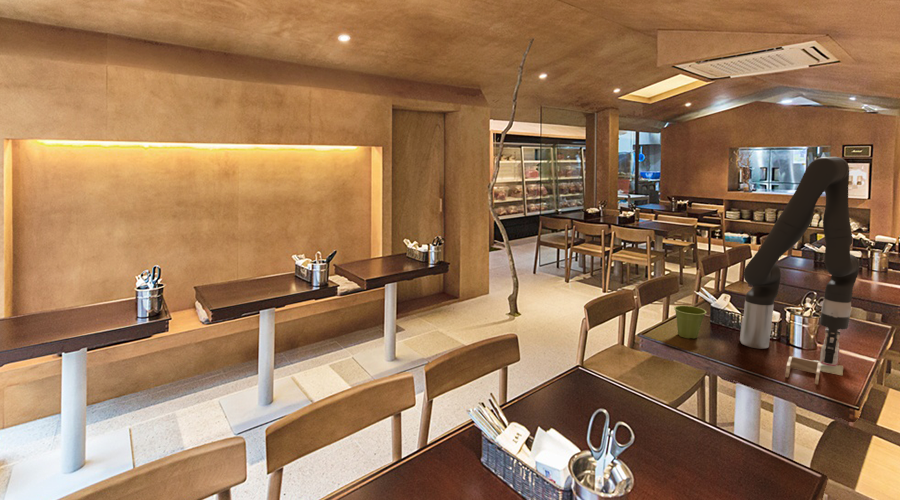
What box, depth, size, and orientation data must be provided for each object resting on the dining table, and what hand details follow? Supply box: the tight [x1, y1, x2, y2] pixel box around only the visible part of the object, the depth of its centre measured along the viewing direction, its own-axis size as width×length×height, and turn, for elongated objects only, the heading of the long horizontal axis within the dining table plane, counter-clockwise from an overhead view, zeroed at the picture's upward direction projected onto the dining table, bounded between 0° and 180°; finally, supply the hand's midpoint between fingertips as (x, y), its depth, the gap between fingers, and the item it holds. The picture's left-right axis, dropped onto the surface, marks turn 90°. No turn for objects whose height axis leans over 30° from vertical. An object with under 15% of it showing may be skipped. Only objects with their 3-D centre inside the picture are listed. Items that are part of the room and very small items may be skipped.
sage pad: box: [813, 359, 844, 377], centre depth 160 cm, size 8×8×1 cm
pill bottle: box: [819, 339, 840, 367], centre depth 159 cm, size 5×5×8 cm
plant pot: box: [673, 305, 707, 339], centre depth 191 cm, size 12×12×11 cm
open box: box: [784, 355, 821, 385], centre depth 155 cm, size 10×9×4 cm
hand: (828, 360), depth 160 cm, fingers open, 5 cm apart
